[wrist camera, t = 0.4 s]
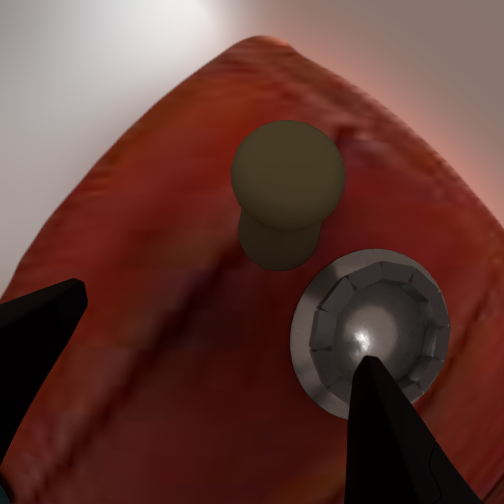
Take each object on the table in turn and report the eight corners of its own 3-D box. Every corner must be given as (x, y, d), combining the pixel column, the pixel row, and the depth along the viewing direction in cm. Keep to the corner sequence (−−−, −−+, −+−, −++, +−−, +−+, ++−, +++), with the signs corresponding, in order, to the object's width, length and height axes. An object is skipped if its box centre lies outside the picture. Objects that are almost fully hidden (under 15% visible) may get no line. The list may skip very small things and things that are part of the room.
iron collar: (459, 371, 19) (477, 375, 17) (321, 444, 19) (328, 458, 16) (413, 228, 22) (427, 218, 20) (263, 286, 22) (263, 282, 19)
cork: (284, 288, 22) (304, 260, 11) (221, 235, 23) (186, 164, 12) (335, 226, 22) (388, 154, 12) (273, 178, 23) (279, 81, 13)
